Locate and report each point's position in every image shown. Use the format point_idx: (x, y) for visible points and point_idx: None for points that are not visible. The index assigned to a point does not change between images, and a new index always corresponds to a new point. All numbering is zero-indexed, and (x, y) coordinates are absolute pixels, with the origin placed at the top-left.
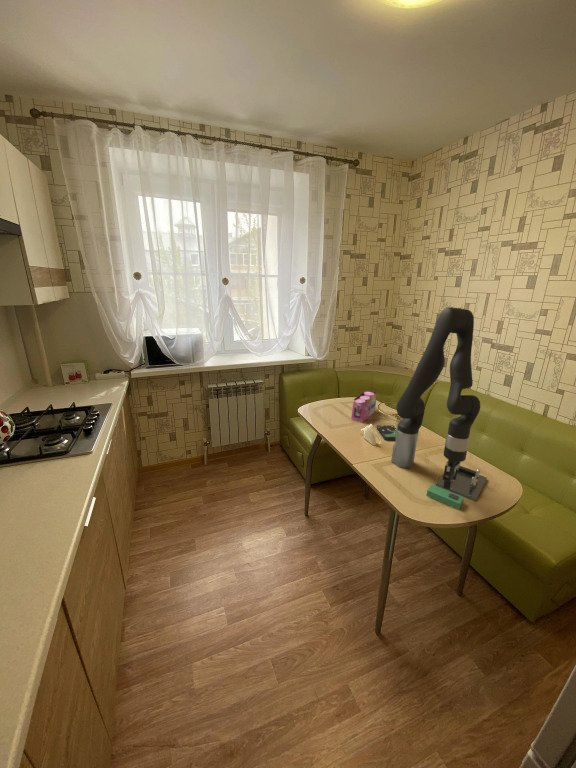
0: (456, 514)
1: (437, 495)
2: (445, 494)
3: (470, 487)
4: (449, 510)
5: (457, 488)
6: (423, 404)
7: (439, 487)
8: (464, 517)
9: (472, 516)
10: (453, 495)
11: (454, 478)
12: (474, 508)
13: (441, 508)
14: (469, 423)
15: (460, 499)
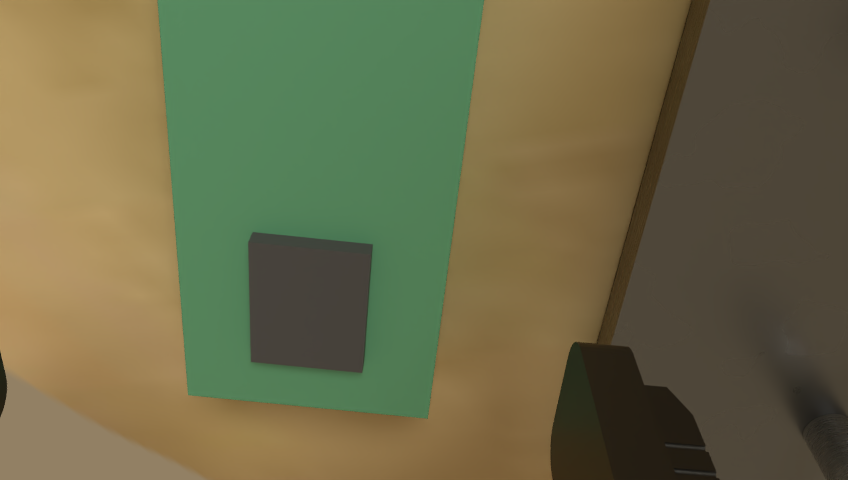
0: (83, 316)
1: (169, 41)
2: (285, 177)
3: (827, 442)
4: (92, 232)
5: (739, 274)
6: None
7: (466, 27)
8: (106, 395)
9: (204, 457)
10: (320, 306)
11: (559, 453)
12: (392, 462)
13: (38, 127)
14: None
15: (314, 389)
